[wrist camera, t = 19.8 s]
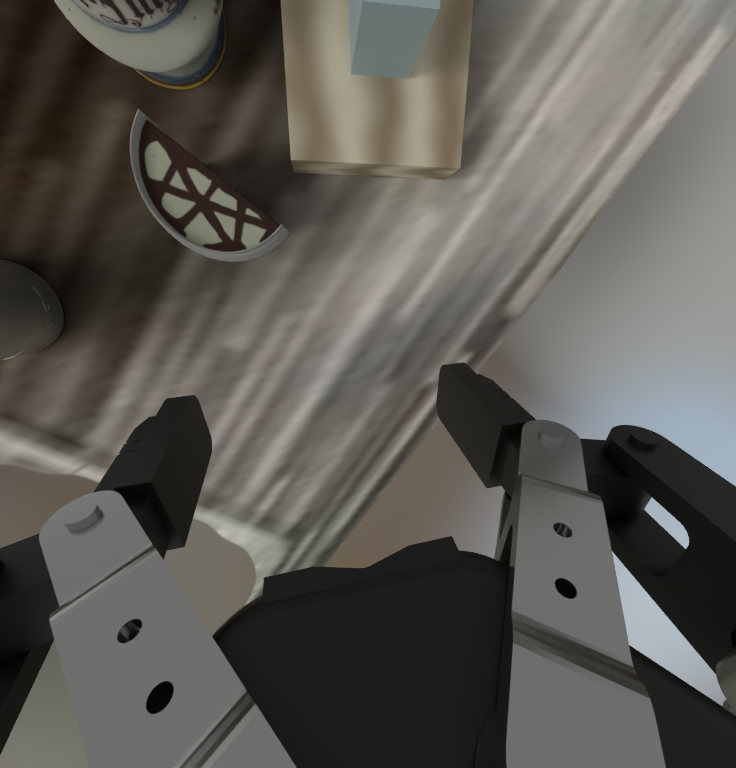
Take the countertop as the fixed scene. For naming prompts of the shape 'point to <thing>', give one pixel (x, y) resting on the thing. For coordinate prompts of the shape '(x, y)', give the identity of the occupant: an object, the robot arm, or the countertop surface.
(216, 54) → the apothecary jar
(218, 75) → the countertop surface
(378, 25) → the blue-grey block
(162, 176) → the food container
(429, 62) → the birch base
